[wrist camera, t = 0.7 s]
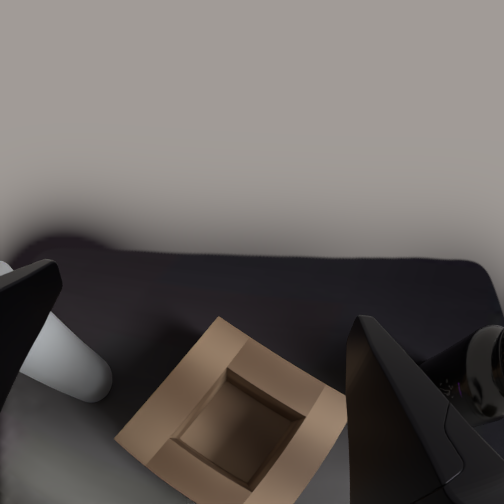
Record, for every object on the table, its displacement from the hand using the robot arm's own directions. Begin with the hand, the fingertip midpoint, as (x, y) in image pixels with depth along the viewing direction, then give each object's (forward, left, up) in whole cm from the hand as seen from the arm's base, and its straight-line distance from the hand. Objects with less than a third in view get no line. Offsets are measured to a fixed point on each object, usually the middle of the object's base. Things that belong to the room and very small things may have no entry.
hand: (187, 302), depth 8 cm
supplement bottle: (+9, -16, -15) cm, 24 cm away
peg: (-5, +8, -15) cm, 18 cm away
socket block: (-1, -3, -15) cm, 15 cm away
